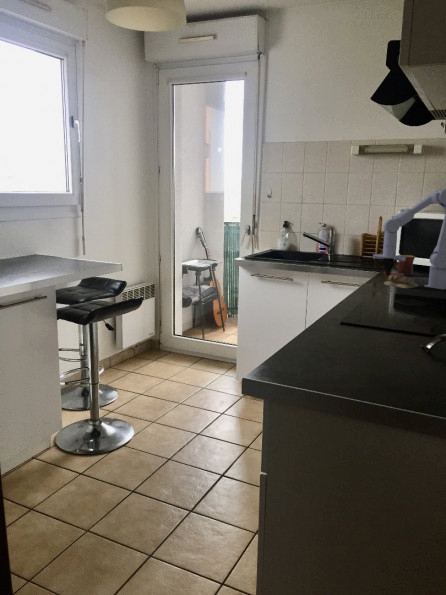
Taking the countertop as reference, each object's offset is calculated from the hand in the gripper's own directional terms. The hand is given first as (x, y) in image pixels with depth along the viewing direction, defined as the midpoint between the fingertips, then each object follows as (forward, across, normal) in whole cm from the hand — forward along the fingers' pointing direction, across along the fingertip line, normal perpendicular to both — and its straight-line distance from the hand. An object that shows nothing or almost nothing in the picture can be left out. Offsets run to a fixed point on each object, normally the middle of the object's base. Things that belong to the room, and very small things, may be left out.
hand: (387, 275), depth 231 cm
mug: (+5, +6, -37) cm, 38 cm away
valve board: (+5, -5, -4) cm, 8 cm away
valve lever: (0, -2, -3) cm, 3 cm away
